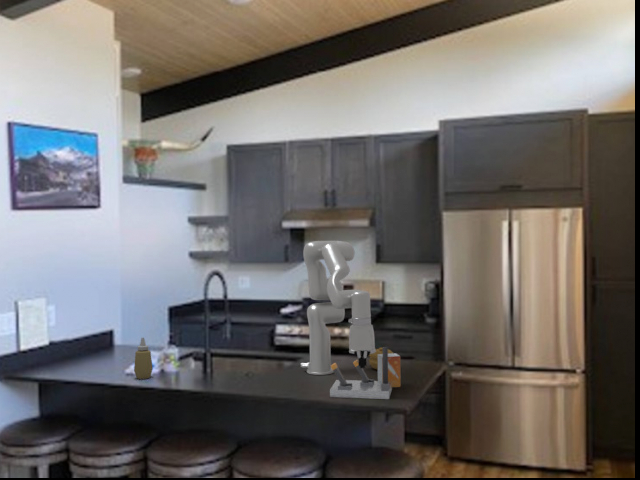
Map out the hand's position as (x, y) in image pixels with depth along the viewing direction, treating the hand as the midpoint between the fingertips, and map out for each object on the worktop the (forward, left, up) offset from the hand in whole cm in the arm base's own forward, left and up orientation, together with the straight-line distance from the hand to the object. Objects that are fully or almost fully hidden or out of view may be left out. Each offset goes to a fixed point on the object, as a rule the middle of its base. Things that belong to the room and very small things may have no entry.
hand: (362, 367), depth 264 cm
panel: (0, -2, -10) cm, 10 cm away
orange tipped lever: (-6, -6, -6) cm, 11 cm away
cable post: (+10, -7, -7) cm, 14 cm away
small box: (+10, +11, -10) cm, 18 cm away
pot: (+4, +42, -10) cm, 44 cm away
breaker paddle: (+2, +1, -6) cm, 6 cm away
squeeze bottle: (-100, +12, -10) cm, 102 cm away
